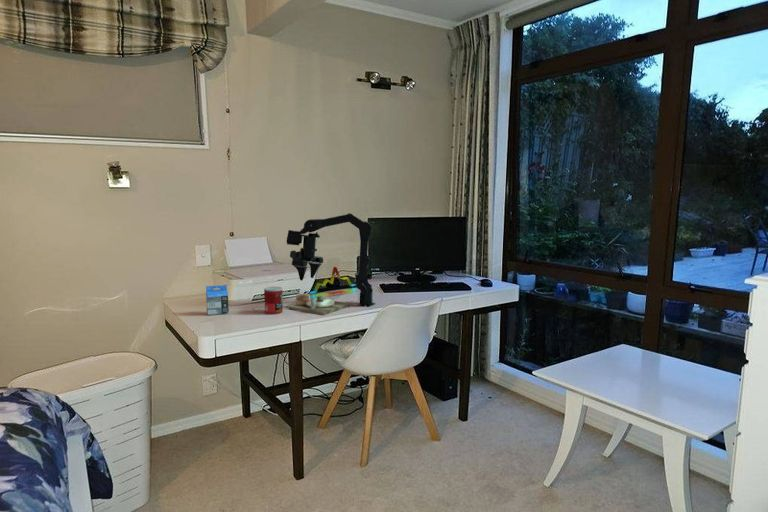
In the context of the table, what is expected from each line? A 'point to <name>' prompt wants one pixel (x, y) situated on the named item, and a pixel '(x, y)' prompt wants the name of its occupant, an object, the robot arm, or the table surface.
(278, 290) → the canned food
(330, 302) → the flange plate
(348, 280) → the chart
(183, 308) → the table surface
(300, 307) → the beige square tray
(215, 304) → the label tape cartridge
